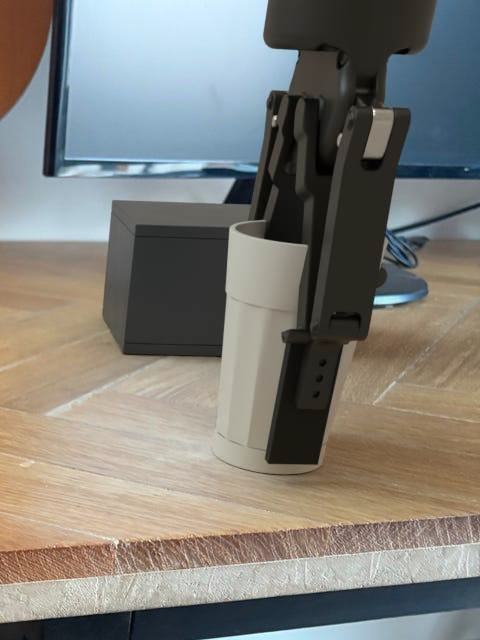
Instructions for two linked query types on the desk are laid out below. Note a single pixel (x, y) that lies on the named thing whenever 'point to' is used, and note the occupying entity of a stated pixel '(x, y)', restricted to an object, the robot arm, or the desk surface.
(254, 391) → the cup
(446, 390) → the desk surface
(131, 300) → the cabinet
